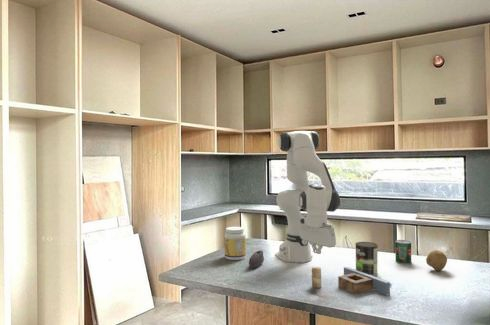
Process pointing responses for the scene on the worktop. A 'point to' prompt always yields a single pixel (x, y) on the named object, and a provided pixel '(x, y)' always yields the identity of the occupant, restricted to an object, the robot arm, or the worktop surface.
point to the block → (355, 283)
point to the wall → (378, 283)
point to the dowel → (316, 277)
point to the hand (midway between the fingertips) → (316, 253)
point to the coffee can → (366, 257)
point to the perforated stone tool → (256, 259)
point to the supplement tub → (235, 243)
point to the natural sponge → (436, 260)
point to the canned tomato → (403, 251)
